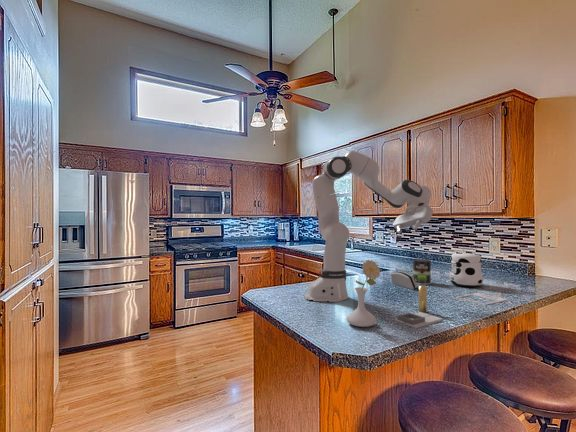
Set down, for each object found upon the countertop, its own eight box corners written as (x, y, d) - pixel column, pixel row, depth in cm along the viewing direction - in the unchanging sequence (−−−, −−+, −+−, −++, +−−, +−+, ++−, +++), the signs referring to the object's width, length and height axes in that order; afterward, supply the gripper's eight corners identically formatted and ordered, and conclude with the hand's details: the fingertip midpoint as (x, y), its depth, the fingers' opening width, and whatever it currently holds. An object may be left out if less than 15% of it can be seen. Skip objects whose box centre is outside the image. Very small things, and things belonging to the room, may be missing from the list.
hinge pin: (420, 312, 133) (420, 287, 133) (417, 310, 136) (417, 285, 136) (428, 312, 133) (428, 287, 133) (424, 310, 136) (424, 285, 136)
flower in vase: (350, 330, 113) (350, 262, 113) (343, 319, 125) (343, 258, 125) (385, 329, 114) (384, 261, 114) (375, 318, 125) (374, 257, 125)
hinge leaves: (416, 328, 115) (415, 322, 115) (394, 320, 123) (394, 314, 123) (442, 320, 123) (442, 314, 123) (420, 313, 132) (420, 308, 132)
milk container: (487, 285, 183) (487, 255, 183) (476, 290, 172) (476, 257, 172) (456, 280, 196) (456, 252, 196) (444, 285, 185) (444, 255, 185)
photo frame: (507, 299, 151) (484, 303, 143) (507, 301, 151) (484, 306, 143) (477, 292, 164) (455, 296, 156) (477, 294, 164) (455, 298, 156)
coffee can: (431, 285, 184) (431, 261, 184) (412, 284, 188) (412, 260, 188) (430, 281, 194) (430, 259, 194) (412, 280, 198) (412, 258, 198)
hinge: (419, 288, 176) (414, 272, 175) (413, 292, 174) (408, 276, 173) (398, 282, 192) (394, 268, 190) (393, 286, 190) (388, 271, 189)
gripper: (395, 211, 165) (386, 230, 158) (428, 201, 147) (420, 222, 141) (402, 219, 166) (393, 238, 159) (436, 210, 149) (428, 231, 142)
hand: (406, 230), depth 150 cm, fingers open, 8 cm apart
